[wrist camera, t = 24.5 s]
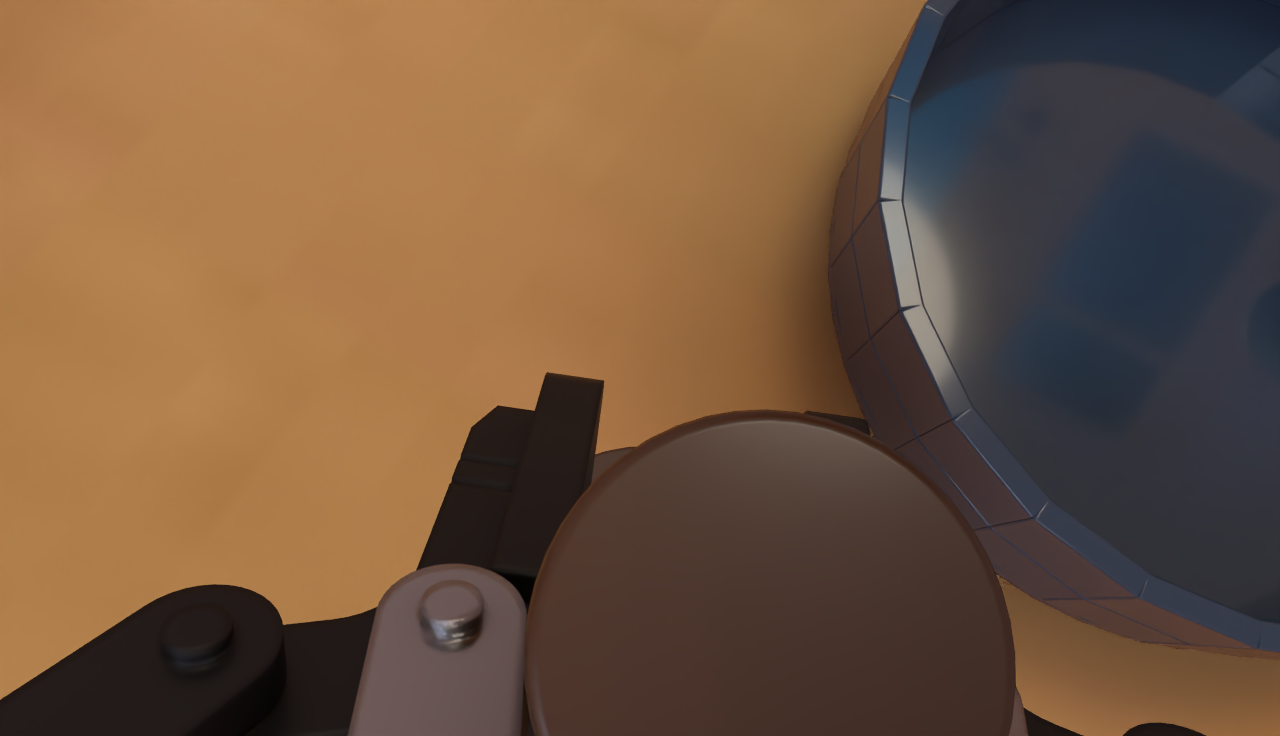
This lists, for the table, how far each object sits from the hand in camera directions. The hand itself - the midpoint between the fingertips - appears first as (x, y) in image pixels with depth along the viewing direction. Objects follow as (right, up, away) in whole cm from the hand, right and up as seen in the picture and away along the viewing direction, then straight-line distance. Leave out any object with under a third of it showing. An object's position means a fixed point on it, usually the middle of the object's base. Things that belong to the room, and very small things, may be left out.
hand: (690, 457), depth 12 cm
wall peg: (0, -3, +5) cm, 6 cm away
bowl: (+14, +3, +15) cm, 21 cm away
